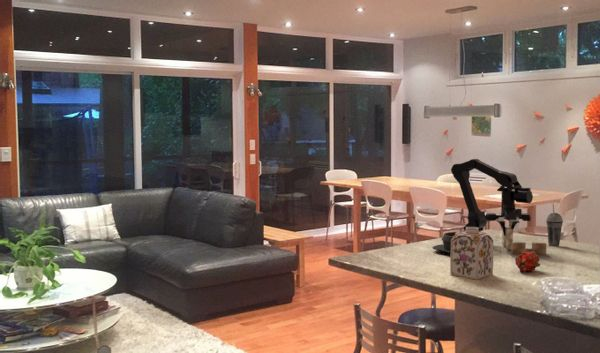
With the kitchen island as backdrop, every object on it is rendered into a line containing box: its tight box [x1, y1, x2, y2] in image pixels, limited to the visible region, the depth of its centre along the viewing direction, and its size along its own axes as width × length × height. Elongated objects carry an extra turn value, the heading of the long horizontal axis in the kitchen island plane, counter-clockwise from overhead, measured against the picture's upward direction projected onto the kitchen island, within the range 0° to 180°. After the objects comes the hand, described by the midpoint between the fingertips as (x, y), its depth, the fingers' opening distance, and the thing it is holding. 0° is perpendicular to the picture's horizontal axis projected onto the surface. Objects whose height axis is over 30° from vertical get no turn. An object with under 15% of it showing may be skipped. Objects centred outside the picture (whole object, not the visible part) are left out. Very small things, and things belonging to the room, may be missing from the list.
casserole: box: [432, 231, 458, 255], centre depth 274 cm, size 25×19×8 cm
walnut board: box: [510, 241, 547, 255], centre depth 268 cm, size 14×2×5 cm, turn 84°
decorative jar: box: [449, 227, 494, 281], centre depth 233 cm, size 12×12×18 cm
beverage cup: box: [545, 203, 564, 248], centre depth 289 cm, size 7×7×20 cm
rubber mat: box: [506, 250, 553, 259], centre depth 268 cm, size 16×13×1 cm
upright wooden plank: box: [501, 224, 514, 251], centre depth 282 cm, size 2×12×9 cm, turn 174°
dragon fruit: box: [514, 250, 541, 273], centre depth 239 cm, size 8×8×12 cm
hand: (507, 235), depth 282 cm, fingers closed on upright wooden plank, 2 cm apart
